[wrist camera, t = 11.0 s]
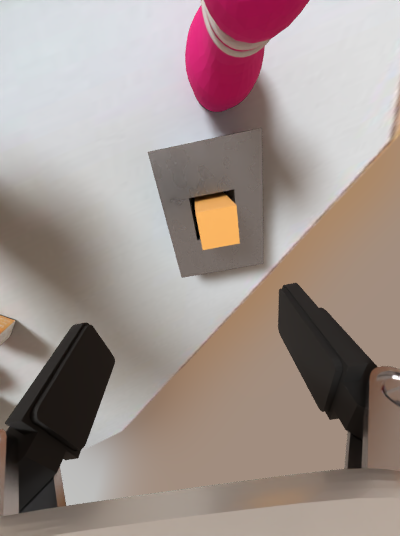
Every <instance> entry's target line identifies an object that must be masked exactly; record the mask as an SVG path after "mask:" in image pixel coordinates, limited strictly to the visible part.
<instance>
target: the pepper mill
mask: <svg viewBox="0 0 400 536" xmlns="http://www.w3.org/2000/svg"><path fill="white" fill-rule="evenodd" d="M308 2H309V0H201V6H200V8H199V9H198V11H197V13H196V15H195V17H194V19H193V21H192V24H191V26H190V29H189V33H188V38H187V44H186V54H185V62H186V71H187V75H188V79H189V82H190V84H191V87H192V89H193V92H194V94H195V96H196V98H197V100H198V101H199V103H200V104H201V105H202V106H203V107H205V108H206V109H208V110H210V111H213V112H221V111H225V110H227V109H229V108H232V107H234V106H236V105H237V104H239V103H240V102H241V101H243V100H244V99H245V98H246V96H247V95H248V94H249V93H250V91H251V90H252V88H253V86H254V84H255V82H256V80H257V78H258V76H259V73H260V70H261V67H262V61H263V56H264V47H265V45H266V44H267V43H268V42H269V40H270V39H271V38H273V37H274V36H276V35H277V34H278V33H280V32H281V31H282V30H284V29H285V28H286V27H288V26H289V25H290V24H291V23H292V22H293V20H294V19H295V18H296V17H297V16H298V15H299V14H300V13H301V11H302V10H303V8H304V7H305V6H306V4H307V3H308Z"/></svg>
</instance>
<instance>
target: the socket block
mask: <svg viewBox="0 0 400 536" xmlns="http://www.w3.org/2000/svg"><path fill="white" fill-rule="evenodd" d="M148 155H149V158H150V162H151V166H152V170H153V173H154V177H155V181H156V184H157V188H158V192H159V195H160V199H161V203H162V206H163V210H164V214H165V217H166V221H167V225H168V229H169V232H170V236H171V240H172V243H173V247H174V251H175V254H176V258H177V262H178V265H179V269H180V273H181V277H182V278H183V277H188V276H194V275H200V274H206V273H212V272H217V271H223V270H229V269H235V268H240V267H246V266H252V265H258V264H263V176H262V128H259V129H254V130H249V131H245V132H240V133H235V134H230V135H226V136H221V137H216V138H212V139H207V140H202V141H197V142H193V143H188V144H183V145H179V146H174V147H169V148H164V149H160V150H155V151H150V152H148ZM223 191H227V196H228V197H229V198H230V199H231V200H232V201H233V202H234V203H235V204H236V205H237V216H238V228H239V240H240V243H239V244H234V245H228V246H223V247H218V248H212V249H207V250H203V249H202V244H201V239H200V234H199V228H198V226H196V223H195V217H194V212H193V207H192V202H191V198H192V197H197V196H202V195H207V194H213V193H218V192H223Z"/></svg>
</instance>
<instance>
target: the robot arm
mask: <svg viewBox="0 0 400 536" xmlns="http://www.w3.org/2000/svg"><path fill="white" fill-rule="evenodd" d="M278 329H279V333H280V335H281V337H282V339H283V341H284V343H285V345H286V347H287V349H288V351H289V353H290V354H291V356H292V358H293V360H294V362H295V364H296V366H297V368H298V370H299V372H300V373H301V375H302V377H303V379H304V381H305V383H306V385H307V387H308V389H309V390H310V392H311V394H312V396H313V398H314V400H315V402H316V404H317V406H318V407H319V409H320V410H321V411H322V412H324V411H325V412H326V414H327V415H328V417H329V419H330V420H331V419H338V418H339V419H340V421H341V422H342V424H343V426H344V428H345V429H346V430H347V431H348V434H347V445H346V457H345V468H344V469H341V470H340V469H339V470H330V471H321V472H312V473H303V474H294V475H285V476H278V477H271V478H263V479H255V480H248V481H241V482H233V483H226V484H218V485H211V486H203V487H197V488H189V489H182V490H175V491H168V492H161V493H154V494H146V495H139V496H132V497H125V498H118V499H111V500H104V501H97V502H91V503H83V504H76V505H69V506H66V502H65V495H64V489H63V483H62V477H61V470H60V464H61V462H62V460H63V459H65V460H69V459H76V458H78V457H79V454H80V451H81V449H82V448H83V447H84V446H85V444H86V442H87V439H88V436H89V434H90V431H91V428H92V425H93V422H94V420H95V417H96V414H97V411H98V409H99V406H100V403H101V400H102V397H103V395H104V392H105V389H106V386H107V383H108V381H109V378H110V375H111V372H112V369H113V367H114V364H115V359H114V356H113V355H112V353H111V352H110V350H109V349H108V348H107V346H106V345H105V343H104V342H103V340H102V339H101V337H100V336H99V335H98V333H97V332H96V330H95V329H94V327H93V326H92V325H89V324H88V323H81V324H76V325H73V326H72V327H71V329H70V330H69V331H68V333H67V334H66V336H65V337H64V339H63V340H62V341H61V343H60V344H59V346H58V347H57V349H56V350H55V352H54V353H53V354H52V356H51V357H50V359H49V360H48V362H47V363H46V365H45V366H44V367H43V369H42V370H41V372H40V373H39V375H38V376H37V378H36V379H35V380H34V382H33V383H32V385H31V386H30V388H29V389H28V391H27V392H26V393H25V395H24V396H23V398H22V399H21V401H20V402H19V404H18V405H17V406H16V408H15V409H14V411H13V412H12V414H11V415H10V416H9V418H8V419H7V421H6V422H5V424H7V425H8V426H10V427H9V428H8V430H7V431H5V430H3V429H0V536H400V369H398V368H394V367H391V366H381V367H377V366H376V365H375V364H374V362H373V361H372V360H371V359H370V358H369V357H368V356H367V355H366V354H365V353H364V352H363V350H362V349H361V348H360V347H359V346H358V345H357V344H356V343H355V342H354V341H353V340H352V338H351V337H350V336H349V335H348V334H347V333H346V332H345V331H344V330H343V329H342V327H341V326H340V325H339V324H338V323H337V322H336V321H335V320H334V319H333V318H332V317H331V315H330V314H329V313H328V312H327V311H326V310H324V309H323V308H318V307H317V305H316V304H315V303H314V302H313V301H312V300H311V299H310V297H309V296H308V295H307V294H306V293H305V292H304V291H303V289H302V288H301V287H300V286H299V285H298V284H297V283H293V284H287V285H283V288H282V289H280V290H279V318H278Z"/></svg>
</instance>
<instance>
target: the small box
mask: <svg viewBox="0 0 400 536" xmlns="http://www.w3.org/2000/svg"><path fill="white" fill-rule="evenodd" d="M14 324H15V320H12V319H9V318H6V317H4V316H1V315H0V345H1V344H2V343H3V342H4V341H6V340H7V339H8V338H9V337H10V335H11V332H12V329H13V327H14Z"/></svg>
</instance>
